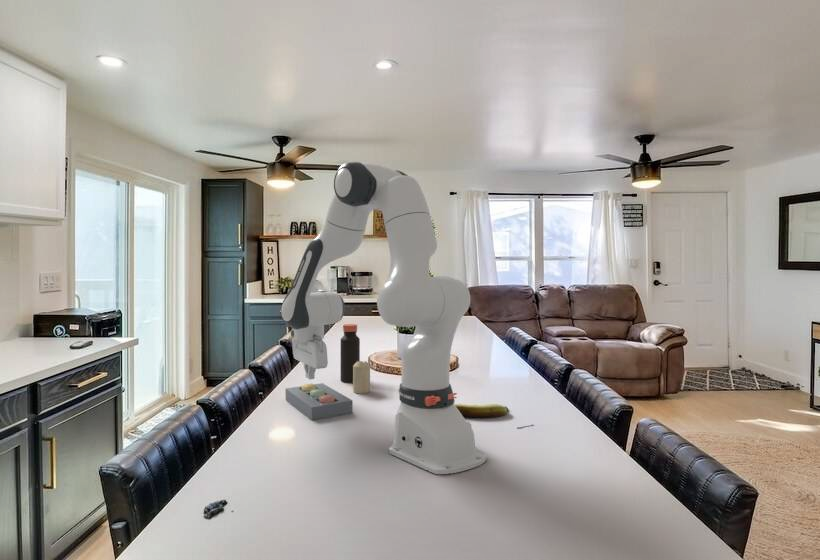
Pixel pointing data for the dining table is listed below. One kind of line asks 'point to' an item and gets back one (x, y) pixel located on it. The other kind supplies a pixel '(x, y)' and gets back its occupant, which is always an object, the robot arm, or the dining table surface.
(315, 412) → the button panel
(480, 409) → the green and grey pieces
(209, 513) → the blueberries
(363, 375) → the candle
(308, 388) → the mustard button
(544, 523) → the dining table surface
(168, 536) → the dining table surface
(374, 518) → the dining table surface
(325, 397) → the brick button
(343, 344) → the bottle
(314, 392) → the sage button
